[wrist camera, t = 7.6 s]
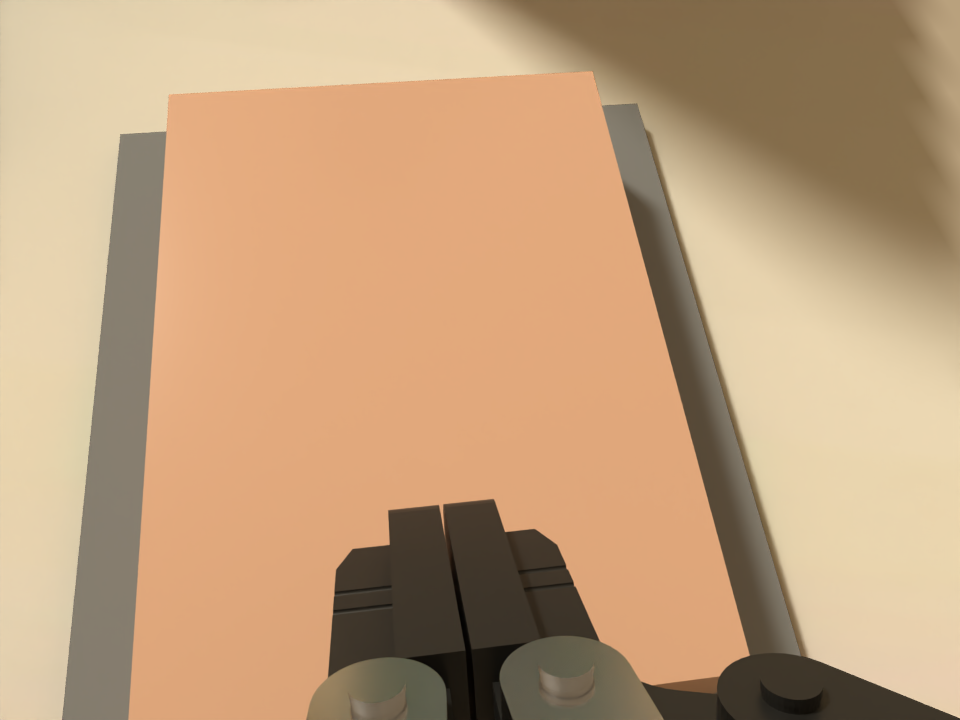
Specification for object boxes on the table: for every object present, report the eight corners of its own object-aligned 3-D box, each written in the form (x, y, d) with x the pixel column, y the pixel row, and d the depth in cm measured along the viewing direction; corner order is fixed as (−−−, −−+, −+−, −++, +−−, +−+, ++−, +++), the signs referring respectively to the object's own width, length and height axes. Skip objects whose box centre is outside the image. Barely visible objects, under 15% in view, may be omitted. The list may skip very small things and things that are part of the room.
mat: (46, 1022, 14) (31, 1028, 14) (127, 150, 23) (120, 134, 23) (857, 892, 16) (871, 893, 15) (632, 119, 25) (637, 103, 24)
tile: (126, 753, 13) (169, 94, 20) (172, 767, 15) (196, 172, 22) (754, 671, 14) (592, 71, 21) (709, 696, 16) (576, 148, 23)
